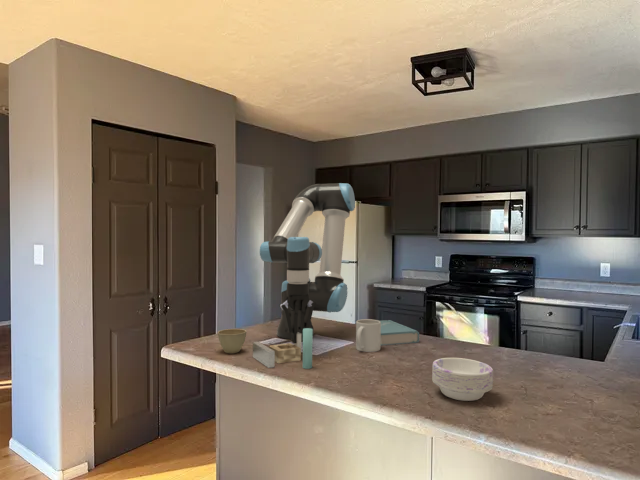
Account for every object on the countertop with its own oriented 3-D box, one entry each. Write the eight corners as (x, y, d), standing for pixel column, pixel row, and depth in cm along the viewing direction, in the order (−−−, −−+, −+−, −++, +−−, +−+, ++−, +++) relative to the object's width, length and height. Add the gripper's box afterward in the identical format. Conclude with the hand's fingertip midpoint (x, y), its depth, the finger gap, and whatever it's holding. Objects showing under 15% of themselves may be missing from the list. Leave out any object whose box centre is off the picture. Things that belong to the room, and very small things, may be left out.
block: (290, 354, 157) (290, 343, 157) (300, 360, 150) (300, 348, 150) (268, 357, 153) (268, 345, 153) (278, 363, 146) (278, 351, 146)
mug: (374, 345, 171) (374, 318, 171) (385, 351, 162) (385, 323, 162) (347, 347, 168) (347, 320, 168) (357, 353, 159) (357, 325, 159)
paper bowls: (505, 402, 114) (506, 370, 114) (452, 408, 110) (453, 375, 110) (469, 383, 129) (469, 355, 129) (421, 387, 124) (421, 358, 124)
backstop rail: (258, 356, 155) (258, 341, 155) (274, 367, 143) (274, 351, 142) (252, 357, 154) (252, 342, 154) (268, 367, 142) (268, 351, 141)
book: (357, 333, 192) (357, 321, 192) (391, 331, 198) (392, 319, 197) (381, 346, 171) (381, 333, 171) (419, 343, 176) (419, 330, 176)
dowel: (309, 365, 144) (309, 327, 144) (313, 368, 142) (314, 329, 142) (300, 366, 143) (301, 328, 143) (305, 369, 140) (305, 330, 140)
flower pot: (249, 348, 165) (249, 328, 165) (242, 355, 155) (242, 335, 155) (222, 347, 166) (222, 328, 166) (213, 354, 156) (213, 334, 156)
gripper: (309, 280, 160) (309, 347, 160) (275, 282, 154) (275, 352, 154) (320, 282, 154) (319, 352, 154) (285, 284, 147) (284, 357, 148)
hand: (297, 352), depth 154 cm, fingers closed
